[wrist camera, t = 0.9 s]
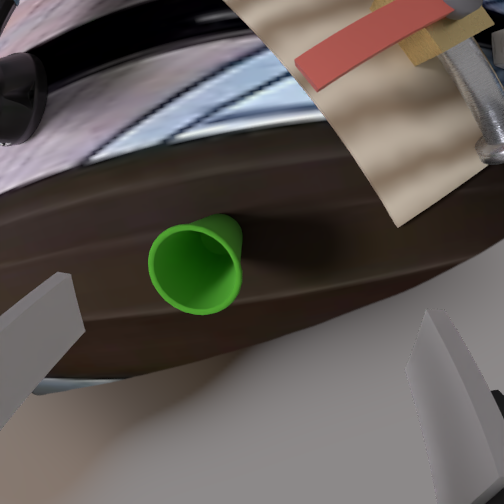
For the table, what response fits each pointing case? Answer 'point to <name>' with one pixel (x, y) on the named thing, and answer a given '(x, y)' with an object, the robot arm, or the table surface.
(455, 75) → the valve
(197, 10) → the table surface
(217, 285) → the cup
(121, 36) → the table surface
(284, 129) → the table surface
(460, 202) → the table surface
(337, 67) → the lever
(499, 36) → the ink box
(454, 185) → the board
